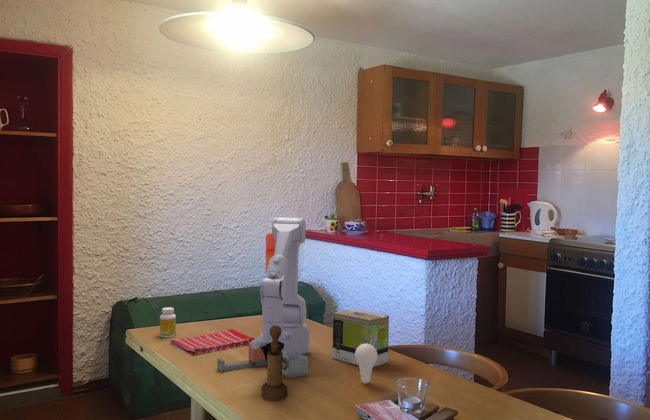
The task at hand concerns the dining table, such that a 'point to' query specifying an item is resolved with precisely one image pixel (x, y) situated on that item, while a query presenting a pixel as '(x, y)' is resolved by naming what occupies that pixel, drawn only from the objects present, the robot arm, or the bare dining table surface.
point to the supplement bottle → (167, 323)
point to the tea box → (360, 334)
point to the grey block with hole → (295, 365)
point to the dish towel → (212, 342)
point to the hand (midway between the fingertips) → (271, 368)
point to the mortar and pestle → (274, 370)
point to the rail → (233, 365)
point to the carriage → (257, 356)
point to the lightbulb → (365, 360)
